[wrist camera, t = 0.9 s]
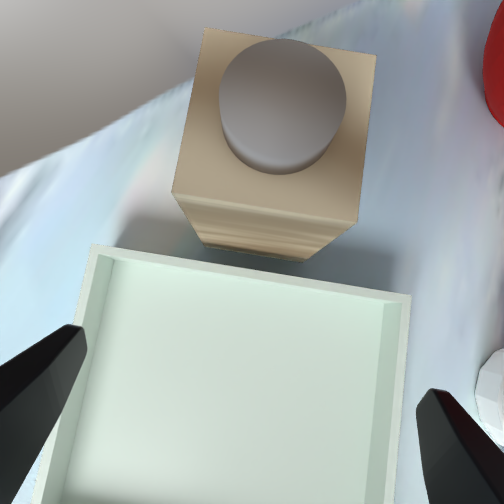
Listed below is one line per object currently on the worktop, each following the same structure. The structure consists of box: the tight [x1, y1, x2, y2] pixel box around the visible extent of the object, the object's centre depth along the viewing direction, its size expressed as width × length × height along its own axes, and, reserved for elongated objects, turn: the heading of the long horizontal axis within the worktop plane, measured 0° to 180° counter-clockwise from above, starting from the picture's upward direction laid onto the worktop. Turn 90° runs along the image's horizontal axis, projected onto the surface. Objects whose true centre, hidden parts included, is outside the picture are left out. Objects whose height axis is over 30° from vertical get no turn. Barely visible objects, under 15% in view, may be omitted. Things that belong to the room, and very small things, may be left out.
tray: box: [31, 244, 412, 504], centre depth 20 cm, size 16×18×3 cm
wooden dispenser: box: [171, 27, 377, 263], centre depth 17 cm, size 6×6×12 cm
